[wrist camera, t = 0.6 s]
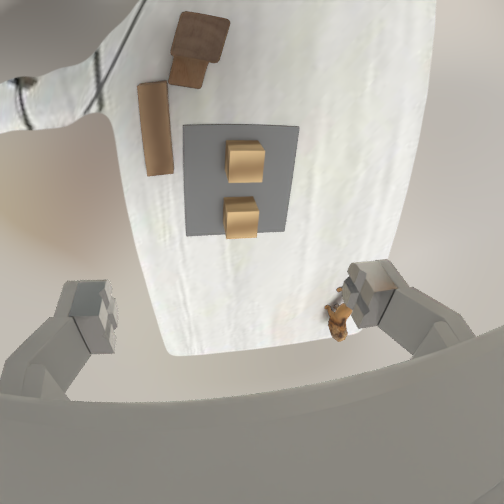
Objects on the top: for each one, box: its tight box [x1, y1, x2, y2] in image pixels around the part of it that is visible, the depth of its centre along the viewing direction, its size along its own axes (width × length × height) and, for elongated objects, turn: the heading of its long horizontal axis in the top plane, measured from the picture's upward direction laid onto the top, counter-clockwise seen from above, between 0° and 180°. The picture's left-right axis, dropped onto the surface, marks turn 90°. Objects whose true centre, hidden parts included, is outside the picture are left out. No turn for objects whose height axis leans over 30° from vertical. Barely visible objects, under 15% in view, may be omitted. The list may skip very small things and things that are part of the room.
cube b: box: [223, 196, 259, 239], centre depth 53 cm, size 5×5×5 cm
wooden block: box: [168, 11, 230, 89], centre depth 31 cm, size 9×4×18 cm, turn 165°
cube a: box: [225, 140, 265, 183], centre depth 47 cm, size 5×5×5 cm
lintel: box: [137, 81, 174, 176], centre depth 42 cm, size 4×14×3 cm, turn 0°
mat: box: [183, 124, 299, 236], centre depth 52 cm, size 20×18×1 cm
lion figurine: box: [325, 287, 352, 342], centre depth 72 cm, size 15×5×9 cm, turn 166°
